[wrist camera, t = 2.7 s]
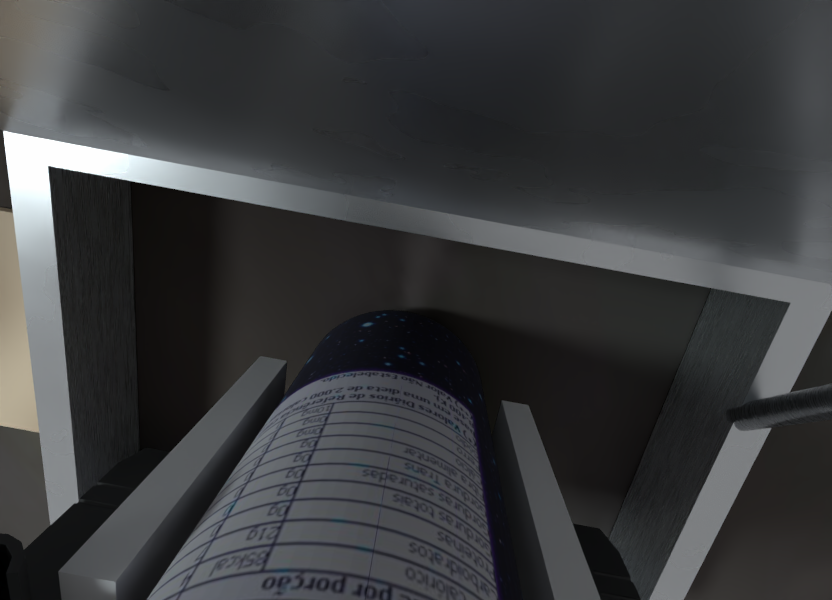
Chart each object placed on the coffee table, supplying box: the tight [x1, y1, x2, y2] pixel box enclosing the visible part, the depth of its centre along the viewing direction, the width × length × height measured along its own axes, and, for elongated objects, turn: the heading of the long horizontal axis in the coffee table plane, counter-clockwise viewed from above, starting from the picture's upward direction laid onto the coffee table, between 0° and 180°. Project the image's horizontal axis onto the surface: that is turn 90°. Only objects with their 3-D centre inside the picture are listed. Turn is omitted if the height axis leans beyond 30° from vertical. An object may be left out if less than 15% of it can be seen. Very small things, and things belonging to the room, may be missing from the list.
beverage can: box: [147, 310, 523, 600], centre depth 9 cm, size 6×6×12 cm
